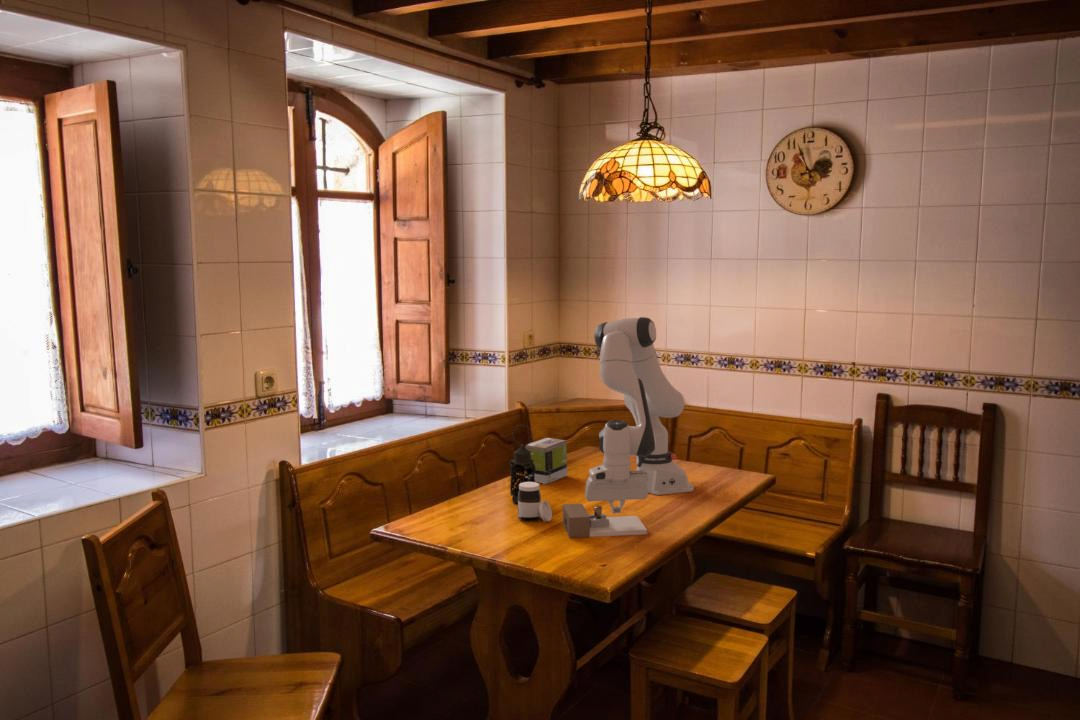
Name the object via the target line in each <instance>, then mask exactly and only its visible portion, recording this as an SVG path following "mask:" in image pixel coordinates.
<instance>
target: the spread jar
mask: <svg viewBox="0 0 1080 720" xmlns="http://www.w3.org/2000/svg"><path fill="white" fill-rule="evenodd" d="M519 489H520V490H519V492H518V504H517V516H518V519H519V520H520V519H521V521H523V520H524V521H523V522H535V520H536V521H538V520H540V519H542V521H543V522H546V523H547V522H551V520H552V519H553V512H552V507H551V505H550V503H549V502H548V501H547V500H542V497H541V491H540V483H536V482H523V483H520V484H519Z"/></svg>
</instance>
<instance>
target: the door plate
mask: <svg viewBox="0 0 1080 720" xmlns="http://www.w3.org/2000/svg"><path fill="white" fill-rule="evenodd" d="M602 517H603V518H604V519H590V518H594V513H592V514H589V513H588V512H587V509H586V507H585V506H584V504H583V503H566V504H565V503H564V504H563V503H562V525H563V528H564V530H565V532H566V534H567V535H568V536H567V537H568V538H569V539H570V538H571V539H572V538H575V539H576V538H592V537H593V538H597V537H615V536H616V537H617V536H638V535H639V536H640V535H641V536H642V535H647V534H648V529H647V527H645V525H644V523H643V522H642V521H641V520H640V518H639V517H638V515H629V516H628V515H627V516H607V514H606V513H602Z"/></svg>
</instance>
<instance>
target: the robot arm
mask: <svg viewBox="0 0 1080 720" xmlns="http://www.w3.org/2000/svg"><path fill="white" fill-rule="evenodd" d="M593 335H594V336H593V337H594V343H595V345H596V347H597V348H598V350H600V354H599V374H600V380H601V381H602V383H603V384H604V385H605V386H606V387H607V388H609V389H610V390H612V391H615V392H617V393H619V394H622V395H623V402H624V404H625V407H626V408H627V409H628V410H629V411H630V413H631V414H632V418H633V419H634V421H635V426H633V425H632V426H631V425H630V426H629V423H628V422H626V421H625V420H621V419H612V420H609V421H607V422H606V423H605V426H604V428H602V429H601V430H600V431H599V433H598V438H599V447H598V450H600V452H601V453H603V460H602V464H600V465H597V466H595V467H592V468H589V470H588V474H589V477H587V480H586V482H585V488H584V491H585V492H584V497H585V499H586V500H587V501H588V502H604V501H607V502H608V504H609V506H610V507H611V514H622V509H623V507H624V505H626V504H625V503H626V501H628V500H629V501H630V500H631V501H632V500H646V499H647V498H648V496H649V494H652V495H656V496H660V495H671V494H681V493H690V492H694V491H695V489H694V484H692V483H691V482H690V481H689V480H688V475H687V472H686V470H684V469H683V468H682V467H681V466H680V465H678V464H677V463H676V462H674V461H675V460H676V459H677V455H676V454H675V453H673V452H671V451H669V450H668V448H669V447H668V445H669V432H668V430H667V428H666V427H665V425H663V424H662V422H661V419H660V418H664V419H665V418H666V419H667V418H669V419H670V418H677V417H678V416H680V415H681V414H682V413H683V412H684V409H685V397H684V395H683V394H682V393H681V392H680V391H679V390H677V389H676V388H675V387H674V386H673V385H672V384H671V382H670V380H668V378H667V377H666V375H665V373H664V372H663V371H662V368H661V365H660V362H659V358H658V356H657V352H656V350H655V346H654V345H655V344H654V343H655V341H656V339H657V328H656V325H655V322H654V321H653V320H652V319H651V318H649V317H645V316H644V317H643V316H640V317H629V318H621V319H617V320H613V321H609V322H607V321H606V322H601V323H600V324H598V325H597V327H596V329H594V334H593ZM630 456H636V461H635V462H636V470H631V460H630V459H631V458H630ZM614 501H619V504H618V506H614V505H613V504H614Z"/></svg>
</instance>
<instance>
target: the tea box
mask: <svg viewBox="0 0 1080 720" xmlns="http://www.w3.org/2000/svg"><path fill="white" fill-rule="evenodd" d="M527 444H528V443H527ZM524 445H525V446H524V447H525V448H526V449H527V450H529V451H531V453H530V454H531V459H532V460H534V461H533V463H534V464H535V468H536V470H535V482H539V484H540V483H543V484H542V485H548V484H550V483H553V482H555V481H557V480H560V479H561V478H565V477H567V476H568V454H567V451H568V449H567V445H568V444H567V440H565V439H558V438H550V437H543V438H542V439H539V440H535V441H533V442H532V441H531V442H530V443H529V444H528V445H526V444H524ZM526 466H527V465H526ZM525 470H527V469H525ZM526 473H527V471H526V472H525V474H526ZM532 473H533V471H532ZM529 476H531V477H532V475H529ZM525 478H528V476H525ZM529 479H530V478H529ZM529 479H528V480H529ZM547 483H548V484H547Z"/></svg>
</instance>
